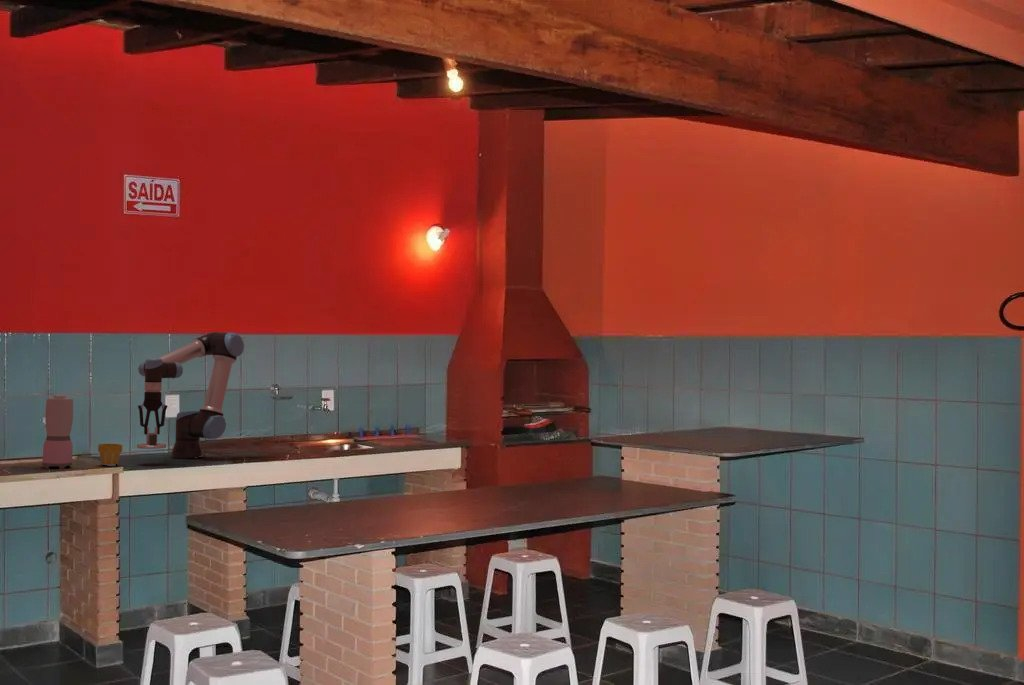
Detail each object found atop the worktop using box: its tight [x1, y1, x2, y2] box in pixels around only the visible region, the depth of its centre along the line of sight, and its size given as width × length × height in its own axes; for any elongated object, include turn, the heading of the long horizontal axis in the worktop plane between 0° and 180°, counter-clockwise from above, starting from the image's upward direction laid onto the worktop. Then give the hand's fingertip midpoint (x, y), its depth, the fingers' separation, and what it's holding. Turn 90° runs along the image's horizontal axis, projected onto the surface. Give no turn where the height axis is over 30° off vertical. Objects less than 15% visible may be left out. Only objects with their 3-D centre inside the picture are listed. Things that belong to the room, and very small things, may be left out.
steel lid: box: [136, 432, 167, 450], centre depth 504 cm, size 13×13×6 cm
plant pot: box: [97, 443, 123, 465], centre depth 494 cm, size 10×10×10 cm
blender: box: [41, 394, 74, 470], centre depth 482 cm, size 16×12×32 cm
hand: (151, 441), depth 504 cm, fingers closed on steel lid, 3 cm apart
